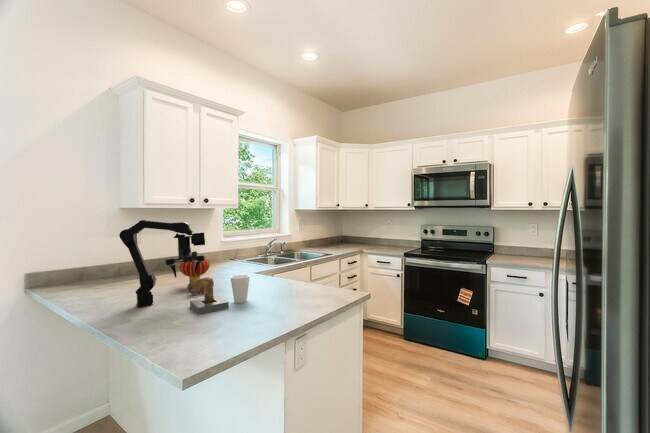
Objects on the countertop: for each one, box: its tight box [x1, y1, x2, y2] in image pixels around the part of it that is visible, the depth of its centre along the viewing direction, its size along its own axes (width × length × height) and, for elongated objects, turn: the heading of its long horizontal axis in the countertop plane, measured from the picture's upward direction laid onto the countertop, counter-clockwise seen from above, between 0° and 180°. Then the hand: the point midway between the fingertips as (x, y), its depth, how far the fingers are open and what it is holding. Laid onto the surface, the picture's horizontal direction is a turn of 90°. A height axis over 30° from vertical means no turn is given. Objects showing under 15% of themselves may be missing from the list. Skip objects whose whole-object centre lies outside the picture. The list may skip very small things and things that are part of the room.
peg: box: [203, 277, 214, 304], centre depth 152 cm, size 4×4×14 cm
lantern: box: [178, 252, 210, 284], centre depth 195 cm, size 17×17×30 cm
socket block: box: [189, 295, 230, 315], centre depth 152 cm, size 14×14×3 cm
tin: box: [187, 276, 215, 296], centre depth 179 cm, size 15×3×8 cm, turn 143°
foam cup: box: [230, 273, 250, 304], centre depth 162 cm, size 10×9×13 cm
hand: (185, 276), depth 163 cm, fingers open, 9 cm apart
